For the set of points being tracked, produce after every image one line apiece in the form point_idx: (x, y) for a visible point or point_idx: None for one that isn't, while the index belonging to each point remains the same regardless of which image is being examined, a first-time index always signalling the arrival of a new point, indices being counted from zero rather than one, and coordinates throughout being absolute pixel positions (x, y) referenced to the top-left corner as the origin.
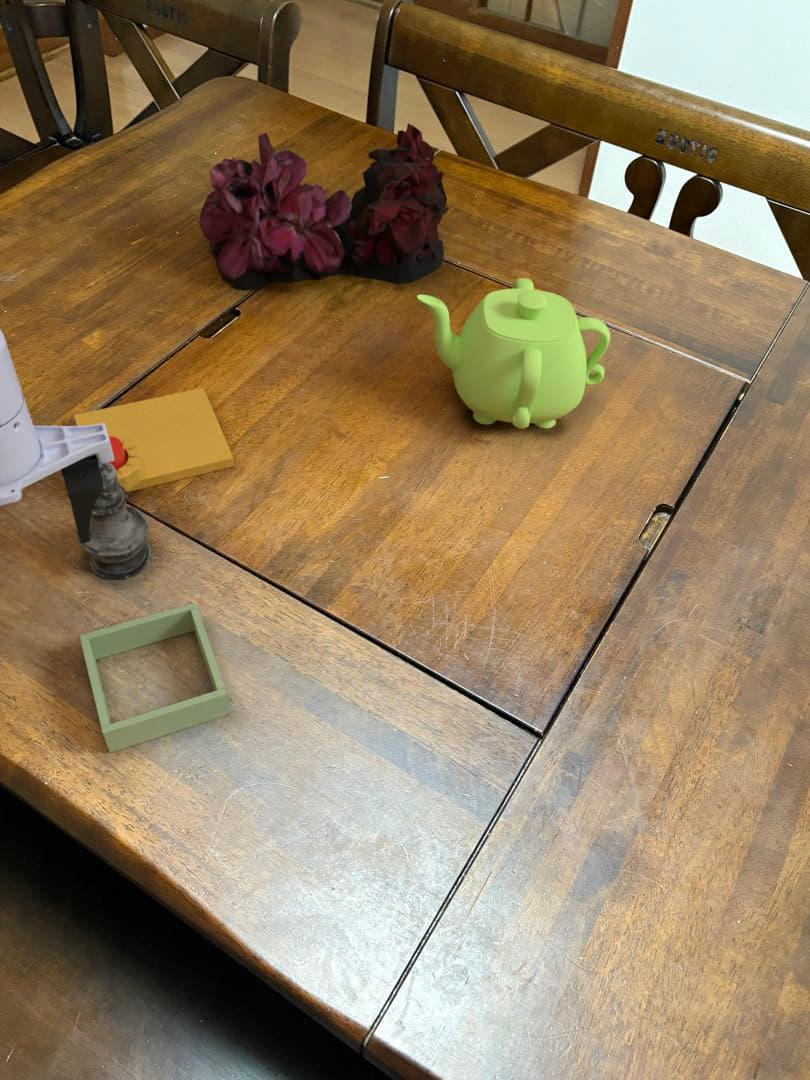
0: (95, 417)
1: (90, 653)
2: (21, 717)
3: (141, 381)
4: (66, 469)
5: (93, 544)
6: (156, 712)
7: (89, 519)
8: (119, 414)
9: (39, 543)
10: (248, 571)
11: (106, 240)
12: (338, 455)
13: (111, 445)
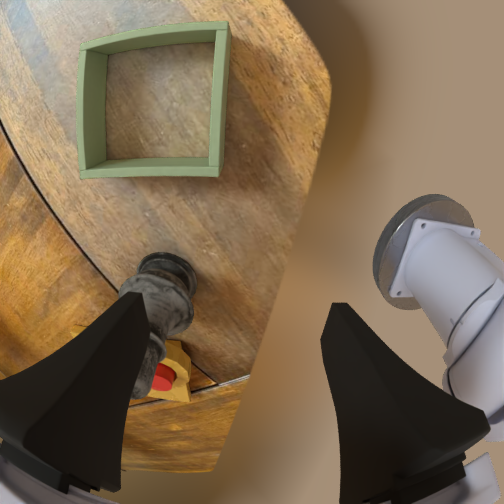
0: (174, 396)
1: (210, 141)
2: (313, 118)
3: (145, 402)
4: (55, 480)
5: (176, 298)
6: (156, 30)
7: (82, 332)
8: (156, 393)
9: (239, 319)
10: (57, 217)
11: (167, 453)
12: (15, 299)
13: (152, 383)
